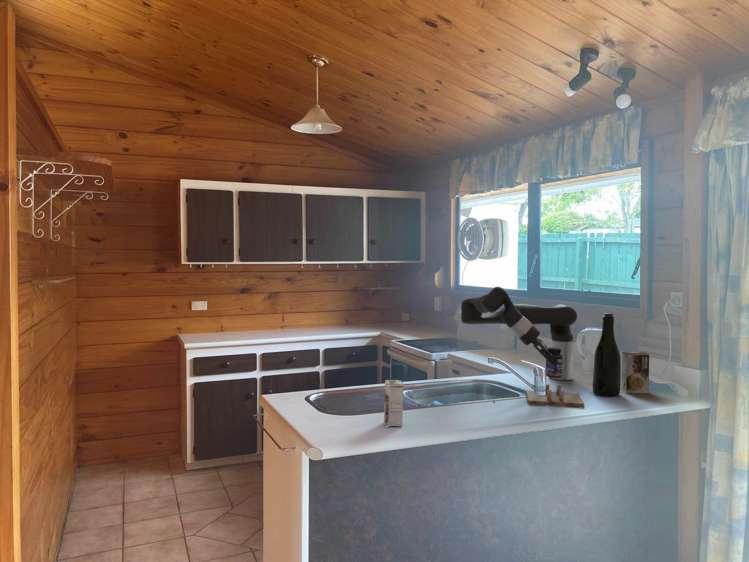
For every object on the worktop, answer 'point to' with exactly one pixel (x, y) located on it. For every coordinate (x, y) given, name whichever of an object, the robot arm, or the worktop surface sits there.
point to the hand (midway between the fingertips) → (555, 362)
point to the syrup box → (393, 403)
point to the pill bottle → (557, 369)
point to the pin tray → (555, 398)
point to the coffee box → (635, 372)
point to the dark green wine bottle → (607, 361)
